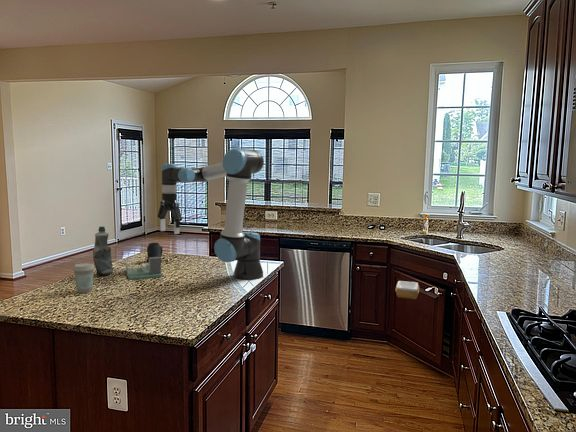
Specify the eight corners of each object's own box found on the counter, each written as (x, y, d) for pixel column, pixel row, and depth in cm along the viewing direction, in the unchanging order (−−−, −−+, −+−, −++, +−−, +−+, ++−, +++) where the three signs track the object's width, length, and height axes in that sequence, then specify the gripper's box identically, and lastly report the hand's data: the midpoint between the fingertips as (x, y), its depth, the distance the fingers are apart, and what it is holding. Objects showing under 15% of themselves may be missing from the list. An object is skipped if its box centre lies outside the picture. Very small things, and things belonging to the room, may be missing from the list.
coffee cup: (72, 294, 181) (70, 267, 180) (76, 289, 189) (75, 263, 188) (93, 293, 183) (92, 266, 182) (97, 288, 192) (96, 262, 190)
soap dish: (396, 290, 196) (397, 280, 195) (418, 292, 193) (419, 282, 192) (394, 298, 184) (395, 286, 183) (418, 300, 181) (419, 289, 180)
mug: (156, 264, 240) (156, 245, 238) (142, 263, 242) (142, 244, 241) (168, 260, 251) (167, 241, 250) (154, 259, 254) (154, 241, 252)
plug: (160, 273, 216) (160, 258, 215) (150, 274, 213) (150, 259, 213) (159, 271, 219) (158, 256, 218) (148, 272, 217) (148, 257, 216)
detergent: (106, 271, 222) (105, 224, 220) (118, 272, 220) (117, 225, 218) (88, 277, 210) (87, 227, 207) (101, 278, 208) (99, 228, 205)
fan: (157, 268, 226) (157, 263, 225) (145, 269, 223) (145, 264, 223) (155, 266, 231) (155, 261, 231) (144, 267, 228) (143, 261, 228)
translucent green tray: (162, 276, 214) (162, 266, 213) (129, 280, 206) (129, 269, 206) (155, 268, 231) (155, 258, 231) (124, 271, 224) (124, 261, 223)
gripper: (188, 193, 219) (189, 234, 222) (162, 191, 236) (163, 229, 239) (176, 194, 214) (176, 235, 216) (150, 191, 231) (151, 230, 233)
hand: (169, 232), depth 227 cm, fingers open, 13 cm apart
